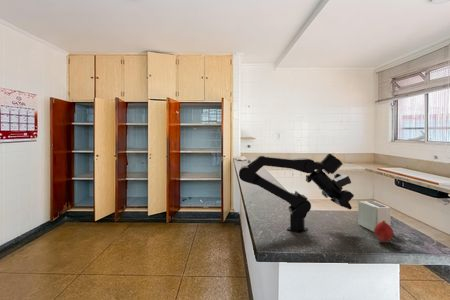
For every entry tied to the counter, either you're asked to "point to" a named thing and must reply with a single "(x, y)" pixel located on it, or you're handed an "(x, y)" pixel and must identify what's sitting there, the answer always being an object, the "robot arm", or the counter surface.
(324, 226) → the counter surface
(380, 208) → the box
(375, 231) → the onion
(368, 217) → the door
